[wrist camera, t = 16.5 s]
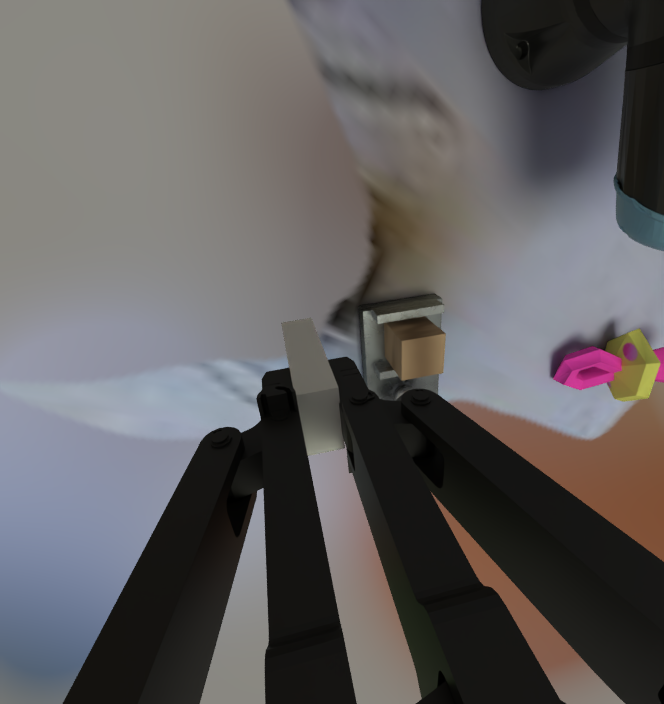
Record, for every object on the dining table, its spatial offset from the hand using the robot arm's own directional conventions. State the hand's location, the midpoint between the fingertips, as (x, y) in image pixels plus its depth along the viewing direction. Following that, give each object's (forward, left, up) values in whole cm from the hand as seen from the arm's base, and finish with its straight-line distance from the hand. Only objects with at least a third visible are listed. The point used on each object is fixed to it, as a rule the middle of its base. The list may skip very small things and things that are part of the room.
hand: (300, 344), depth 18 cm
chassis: (-14, +16, -24) cm, 32 cm away
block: (-14, +12, -22) cm, 29 cm away
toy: (-47, +22, -25) cm, 57 cm away
